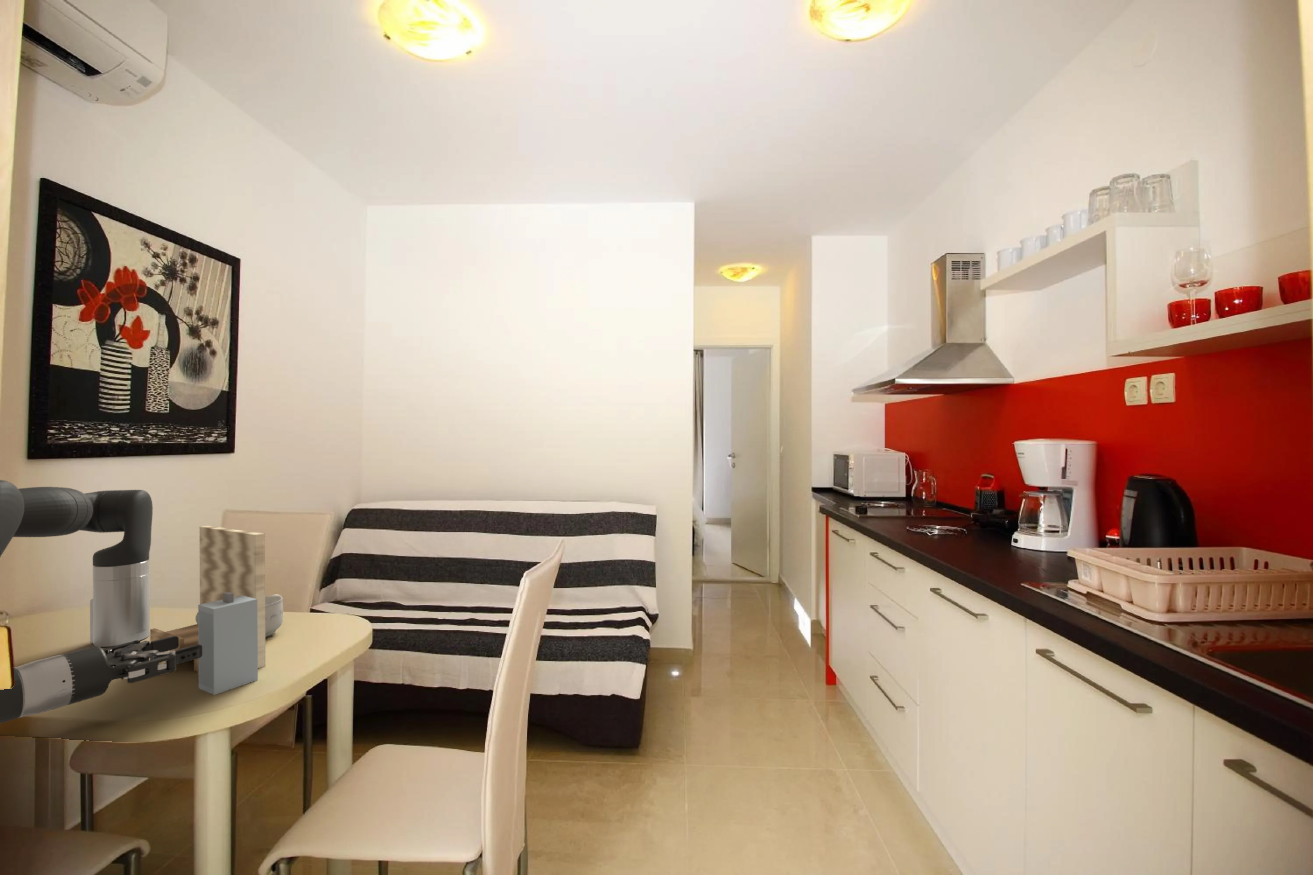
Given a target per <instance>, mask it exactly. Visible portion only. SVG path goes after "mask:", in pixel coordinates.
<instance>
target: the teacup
mask: <svg viewBox="0 0 1313 875" xmlns="http://www.w3.org/2000/svg"><path fill="white" fill-rule="evenodd" d="M283 602H284V597H283V596H282V595H281V594H278V593H276V594H275V593H274V594H272V595H265V638H267V637H269V636H271V635H274V633H275V632H276V631H277V630H278V629H279V628H280V627H281V626H282V623H283V621H284V604H283Z"/></svg>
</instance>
